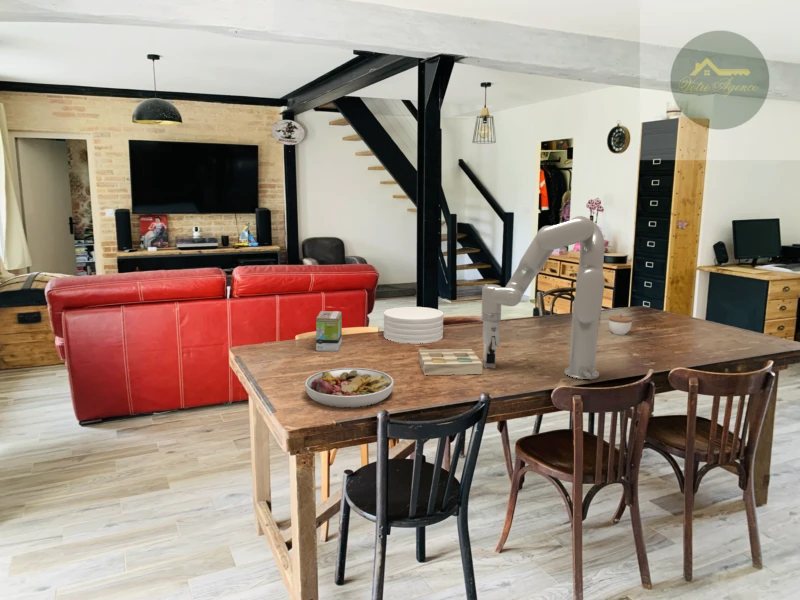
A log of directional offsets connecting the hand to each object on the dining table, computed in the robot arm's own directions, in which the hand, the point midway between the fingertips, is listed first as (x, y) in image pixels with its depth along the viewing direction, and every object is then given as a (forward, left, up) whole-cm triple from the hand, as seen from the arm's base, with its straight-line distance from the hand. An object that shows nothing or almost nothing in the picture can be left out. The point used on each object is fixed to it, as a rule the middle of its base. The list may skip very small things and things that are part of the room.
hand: (489, 361), depth 237 cm
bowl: (-28, +55, -3) cm, 62 cm away
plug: (0, 0, -2) cm, 2 cm away
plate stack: (+50, +25, -3) cm, 56 cm away
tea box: (+33, +64, -3) cm, 72 cm away
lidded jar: (+50, -76, -3) cm, 91 cm away
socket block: (0, +16, -2) cm, 16 cm away
